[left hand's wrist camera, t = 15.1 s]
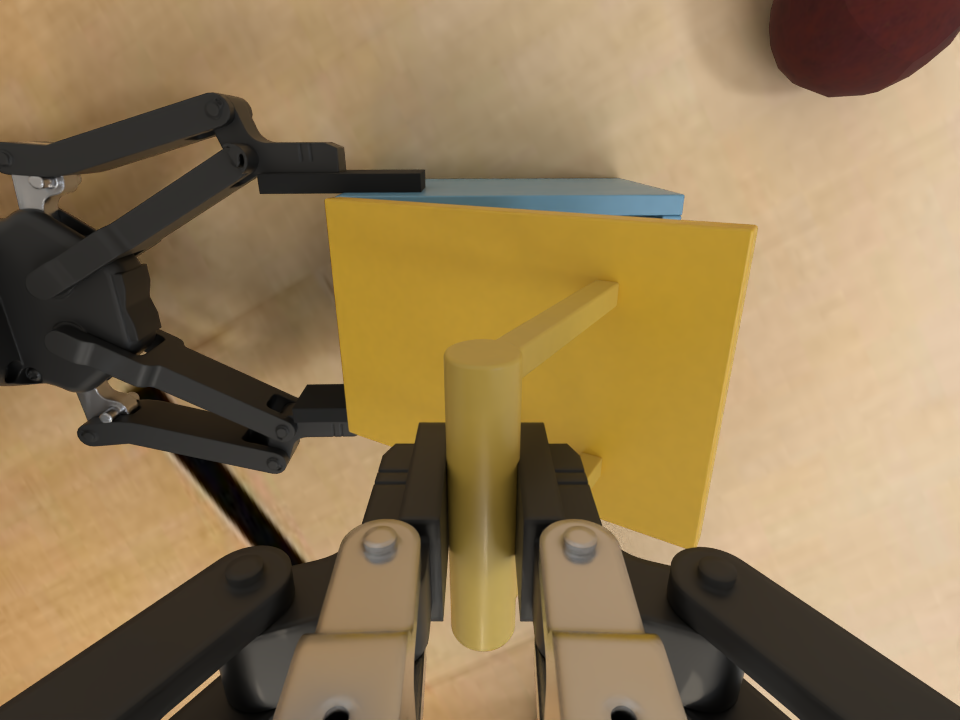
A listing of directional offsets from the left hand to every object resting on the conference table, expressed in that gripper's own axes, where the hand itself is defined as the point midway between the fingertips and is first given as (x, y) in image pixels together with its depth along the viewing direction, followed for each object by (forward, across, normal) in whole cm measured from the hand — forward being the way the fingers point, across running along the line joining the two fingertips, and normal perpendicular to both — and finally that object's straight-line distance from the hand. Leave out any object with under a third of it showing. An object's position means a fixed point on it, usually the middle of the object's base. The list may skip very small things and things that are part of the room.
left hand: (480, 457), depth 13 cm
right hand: (+14, +2, 0) cm, 14 cm away
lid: (+7, -1, 0) cm, 7 cm away
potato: (+21, -17, -12) cm, 29 cm away
